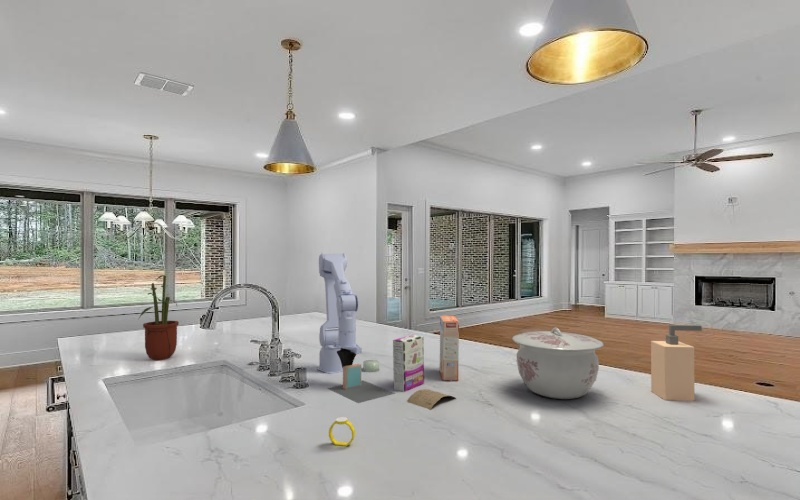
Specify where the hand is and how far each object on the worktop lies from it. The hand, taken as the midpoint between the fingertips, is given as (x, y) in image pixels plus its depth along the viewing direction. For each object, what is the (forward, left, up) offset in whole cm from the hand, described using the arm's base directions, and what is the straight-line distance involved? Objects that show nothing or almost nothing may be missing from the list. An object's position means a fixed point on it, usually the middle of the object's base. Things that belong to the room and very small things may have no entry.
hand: (347, 371), depth 145 cm
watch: (+37, -25, -5) cm, 45 cm away
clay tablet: (+28, +12, -6) cm, 31 cm away
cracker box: (+13, +35, -5) cm, 38 cm away
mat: (+8, 0, -5) cm, 9 cm away
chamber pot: (+48, +48, -5) cm, 68 cm away
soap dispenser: (+74, +74, -5) cm, 105 cm away
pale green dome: (-10, +17, -5) cm, 20 cm away
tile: (+3, 0, -4) cm, 5 cm away
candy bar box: (+14, +15, -5) cm, 21 cm away
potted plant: (-83, -42, -5) cm, 93 cm away
